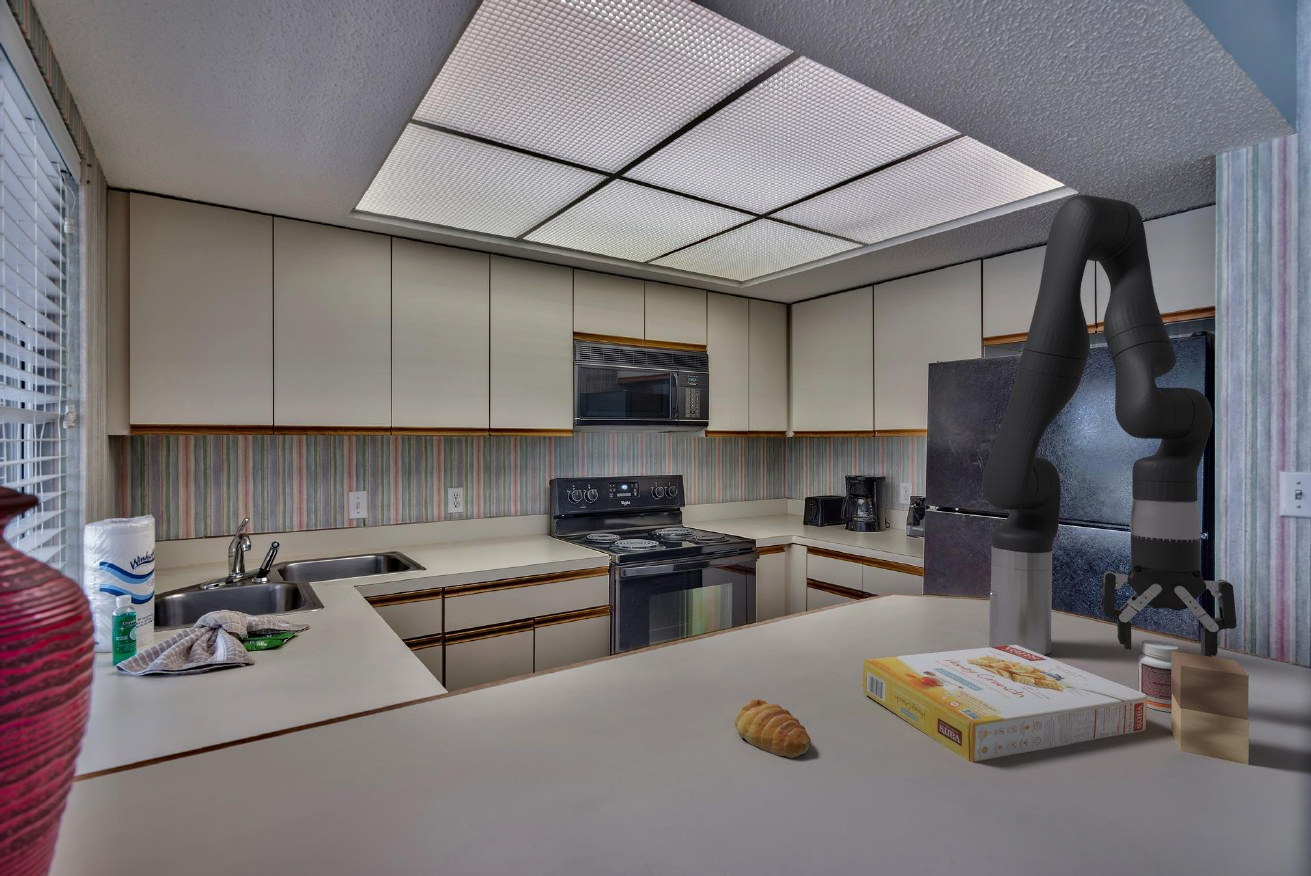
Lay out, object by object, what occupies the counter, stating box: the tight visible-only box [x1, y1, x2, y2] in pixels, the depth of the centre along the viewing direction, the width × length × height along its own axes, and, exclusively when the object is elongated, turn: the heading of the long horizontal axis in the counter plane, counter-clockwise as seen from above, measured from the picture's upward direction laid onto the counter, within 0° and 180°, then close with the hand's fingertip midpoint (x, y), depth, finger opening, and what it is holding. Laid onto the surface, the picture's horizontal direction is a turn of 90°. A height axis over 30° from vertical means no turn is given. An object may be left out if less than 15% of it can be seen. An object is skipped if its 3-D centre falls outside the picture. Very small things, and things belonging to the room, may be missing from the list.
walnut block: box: [1171, 651, 1250, 720], centre depth 77 cm, size 6×6×5 cm
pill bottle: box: [1137, 639, 1180, 713], centre depth 89 cm, size 5×5×8 cm
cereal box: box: [862, 645, 1148, 763], centre depth 86 cm, size 20×6×28 cm
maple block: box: [1170, 694, 1250, 766], centre depth 77 cm, size 6×6×5 cm
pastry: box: [734, 698, 812, 759], centre depth 77 cm, size 9×7×4 cm
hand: (1166, 653), depth 89 cm, fingers open, 8 cm apart
